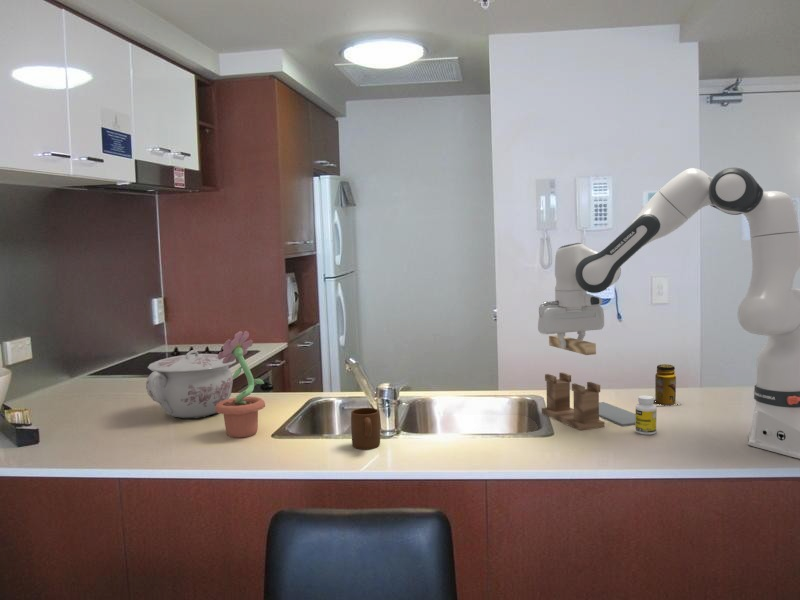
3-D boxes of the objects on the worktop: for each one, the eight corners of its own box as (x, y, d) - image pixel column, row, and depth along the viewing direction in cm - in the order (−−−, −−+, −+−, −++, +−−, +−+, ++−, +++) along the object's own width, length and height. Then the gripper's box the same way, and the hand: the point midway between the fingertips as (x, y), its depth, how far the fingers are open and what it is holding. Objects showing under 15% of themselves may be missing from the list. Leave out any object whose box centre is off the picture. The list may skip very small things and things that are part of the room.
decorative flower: (246, 424, 216) (241, 325, 213) (279, 430, 208) (274, 328, 205) (206, 437, 203) (200, 332, 200) (240, 444, 195) (234, 335, 192)
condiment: (681, 405, 223) (681, 367, 222) (655, 406, 222) (655, 368, 220) (669, 399, 230) (669, 362, 229) (644, 401, 229) (644, 364, 228)
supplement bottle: (632, 432, 195) (632, 397, 194) (640, 428, 199) (640, 393, 198) (651, 436, 191) (651, 400, 190) (659, 431, 195) (659, 396, 194)
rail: (595, 354, 199) (595, 343, 198) (586, 355, 198) (586, 344, 197) (557, 344, 218) (557, 334, 217) (549, 345, 217) (548, 335, 216)
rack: (604, 427, 201) (604, 385, 200) (579, 430, 199) (579, 387, 197) (564, 409, 221) (564, 371, 220) (541, 412, 218) (541, 374, 217)
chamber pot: (234, 399, 248) (231, 340, 246) (243, 418, 222) (240, 353, 220) (149, 408, 240) (145, 347, 238) (148, 429, 214) (143, 361, 212)
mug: (384, 453, 183) (383, 418, 182) (354, 456, 182) (353, 420, 181) (378, 440, 195) (377, 406, 194) (350, 442, 194) (349, 408, 193)
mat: (652, 422, 204) (652, 420, 204) (622, 426, 201) (622, 424, 201) (603, 403, 227) (603, 401, 227) (575, 407, 224) (575, 405, 224)
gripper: (544, 302, 200) (545, 351, 201) (607, 298, 206) (607, 345, 208) (533, 301, 206) (534, 348, 207) (594, 296, 212) (595, 342, 214)
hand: (571, 347), depth 208 cm, fingers closed on rail, 3 cm apart
